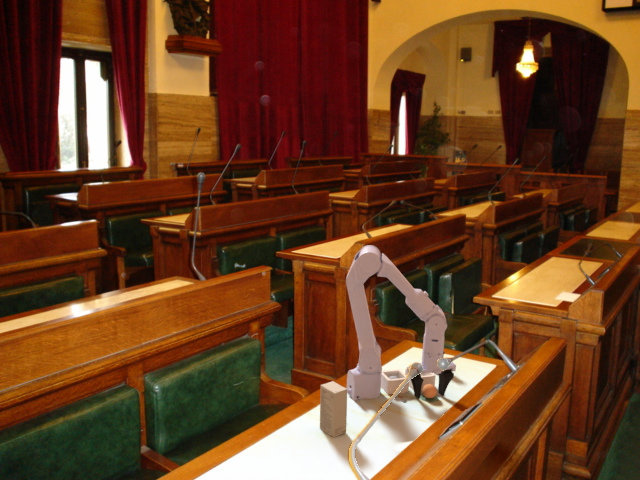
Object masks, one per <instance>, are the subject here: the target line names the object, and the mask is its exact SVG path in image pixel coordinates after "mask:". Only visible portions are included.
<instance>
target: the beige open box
mask: <svg viewBox="0 0 640 480" xmlns="http://www.w3.org/2000/svg"><path fill="white" fill-rule="evenodd" d="M404 374H405V375H406V376H407V368H405V371H404ZM420 375H421V378H422V379H423V383H422V387H421V392H422V390H423V387H424V386H425V385H427V384H432V385H434V386H435V385H436V375H437V374H434V373H423V374H420ZM435 387H436V386H435ZM409 388H410V389H411V390H412V391H413V392H414V389H413V385H412V382H411V380H410V381H409Z"/></svg>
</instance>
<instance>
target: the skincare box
mask: <svg viewBox="0 0 640 480" xmlns="http://www.w3.org/2000/svg"><path fill="white" fill-rule="evenodd" d="M319 399H320V400H319V401H320V402H319V403H320V404H319V428H320V429H321V430H322V431H324V432H325V433H326V434H328V435H330V437H331V436H332V437H333V438H335V437H338V436H340V435H343V434H346V433H347V414H348V413H347V411H348V393H347V387H345V386H342V385H341V384H339V383H337V382H335V381H334V380H332V381H329V382H325V383H322V384H320V397H319Z"/></svg>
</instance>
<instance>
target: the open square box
mask: <svg viewBox="0 0 640 480" xmlns="http://www.w3.org/2000/svg"><path fill="white" fill-rule="evenodd" d="M391 376H396V377H398V379H389V377H391ZM405 378H406V375H405V372H403V370H401V369H397V368H396V369H389V370H382V376H381V389H382V390H383V392H384V393H385V394H386V395H394V394H393V393H394V392H395V391H396V389H397V388H398V387H399V385H400V384H401V383H402V382H403V381H404V380H405ZM409 388H410V387H409V382H408V383H407V384H406V385H405V386H404V388H403V389H402V390H401V392H400V393H399V394H404V393H409Z"/></svg>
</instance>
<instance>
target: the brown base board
mask: <svg viewBox="0 0 640 480" xmlns="http://www.w3.org/2000/svg"><path fill="white" fill-rule="evenodd" d="M397 398H398V399H403V395H402V396H401V395H398V396H397ZM419 400H422V401H424V402H427V403H434V402H437V401H438V400H439V397H438V396H437V395H435V397H433V398H426V397H425V396H424V395H423V393H421V396H420V399H419ZM401 402H402V403H405V404H406V403H407V402H408V401H407V400H406V399H403V400H401Z"/></svg>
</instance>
